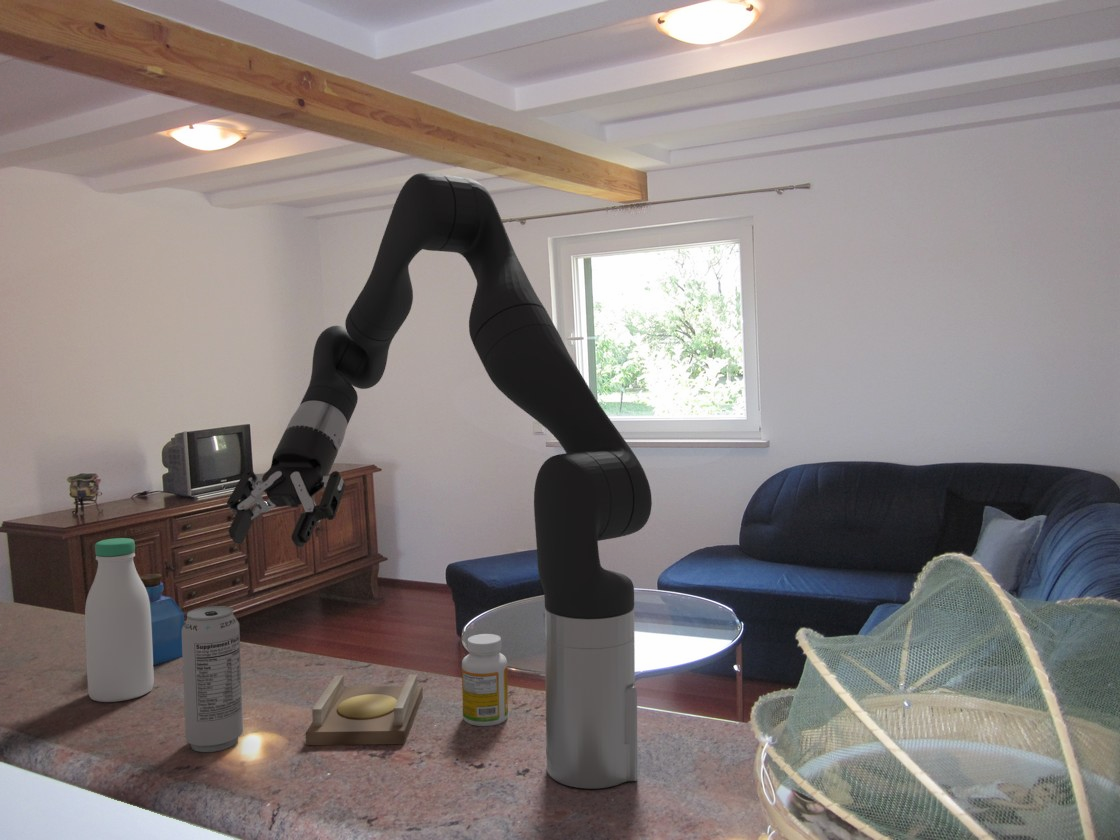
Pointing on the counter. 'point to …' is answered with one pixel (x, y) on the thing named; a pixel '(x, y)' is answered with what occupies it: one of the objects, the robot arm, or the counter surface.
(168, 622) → the perfume bottle
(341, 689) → the stand
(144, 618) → the milk bottle
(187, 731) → the energy drink can
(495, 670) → the supplement bottle
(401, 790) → the counter surface
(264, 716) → the counter surface
